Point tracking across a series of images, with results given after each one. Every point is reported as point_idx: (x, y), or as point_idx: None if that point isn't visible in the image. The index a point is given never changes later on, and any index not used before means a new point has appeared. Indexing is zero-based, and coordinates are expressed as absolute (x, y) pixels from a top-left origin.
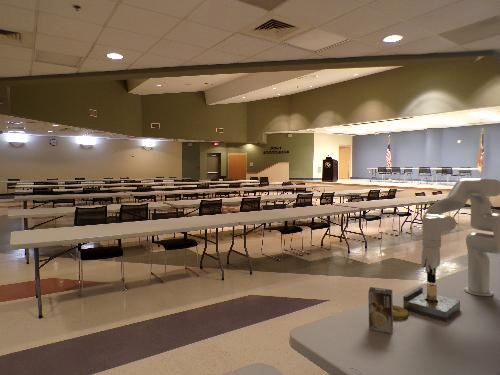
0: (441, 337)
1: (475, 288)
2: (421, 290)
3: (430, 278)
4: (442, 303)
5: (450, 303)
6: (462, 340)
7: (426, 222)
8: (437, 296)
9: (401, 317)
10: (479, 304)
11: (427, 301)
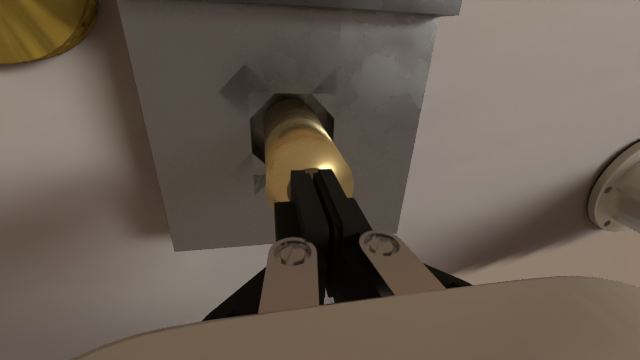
0: (6, 265)
1: (633, 197)
2: (424, 14)
3: (276, 240)
4: None
5: None
6: (74, 310)
7: None
8: (392, 134)
9: None
10: (488, 228)
11: (271, 116)
